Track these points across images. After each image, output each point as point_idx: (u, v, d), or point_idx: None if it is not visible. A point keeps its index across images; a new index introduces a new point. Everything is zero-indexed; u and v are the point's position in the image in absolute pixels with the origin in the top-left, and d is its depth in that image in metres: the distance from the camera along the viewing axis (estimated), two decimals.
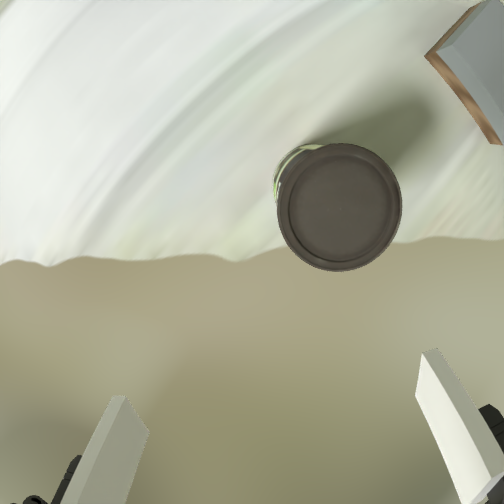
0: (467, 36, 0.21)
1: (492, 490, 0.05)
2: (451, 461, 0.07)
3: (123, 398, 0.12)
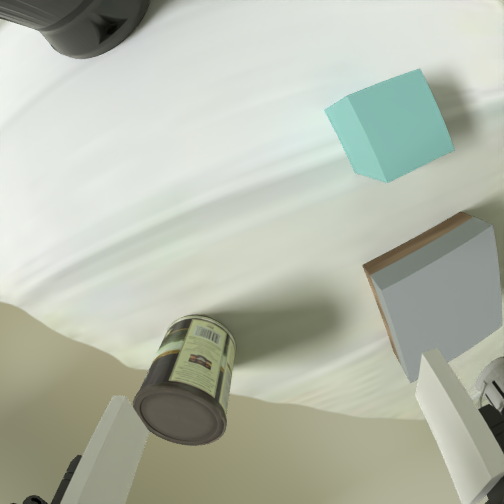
0: (410, 281, 0.29)
1: (492, 490, 0.05)
2: (451, 461, 0.07)
3: (123, 398, 0.12)
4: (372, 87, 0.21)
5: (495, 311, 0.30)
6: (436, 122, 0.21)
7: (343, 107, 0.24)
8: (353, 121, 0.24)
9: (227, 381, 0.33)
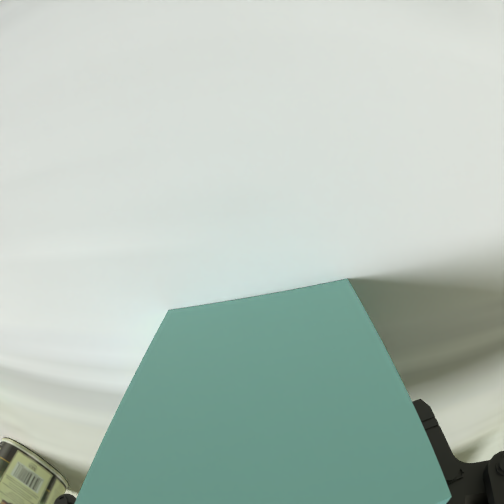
0: None
1: None
2: None
3: None
4: None
5: None
6: None
7: None
8: None
9: None
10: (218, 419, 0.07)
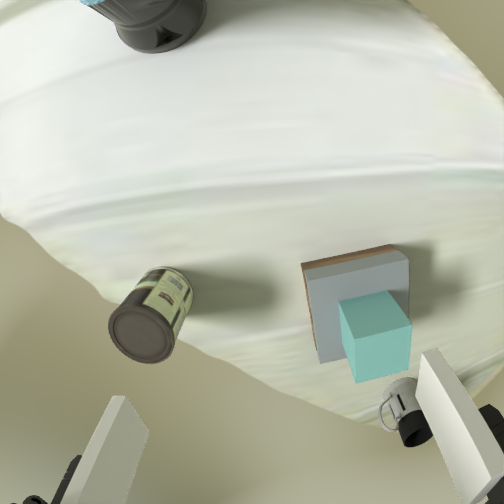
0: (331, 280, 0.44)
1: (492, 490, 0.05)
2: (451, 461, 0.07)
3: (123, 398, 0.12)
4: (373, 335, 0.35)
5: None
6: (404, 355, 0.36)
7: (350, 333, 0.38)
8: (352, 345, 0.37)
9: (181, 319, 0.46)
10: (371, 319, 0.38)
